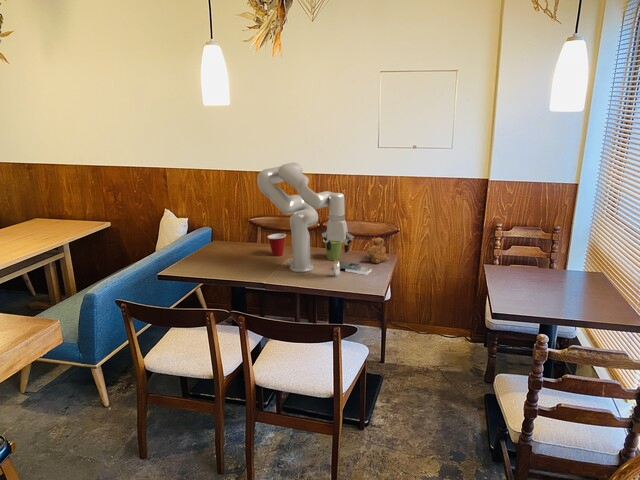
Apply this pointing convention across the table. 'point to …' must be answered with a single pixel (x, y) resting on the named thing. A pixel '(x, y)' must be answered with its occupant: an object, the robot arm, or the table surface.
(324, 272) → the table surface
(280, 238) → the plastic cup
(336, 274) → the steel pin
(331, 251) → the plant pot
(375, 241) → the teddy bear
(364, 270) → the gray white flat block
